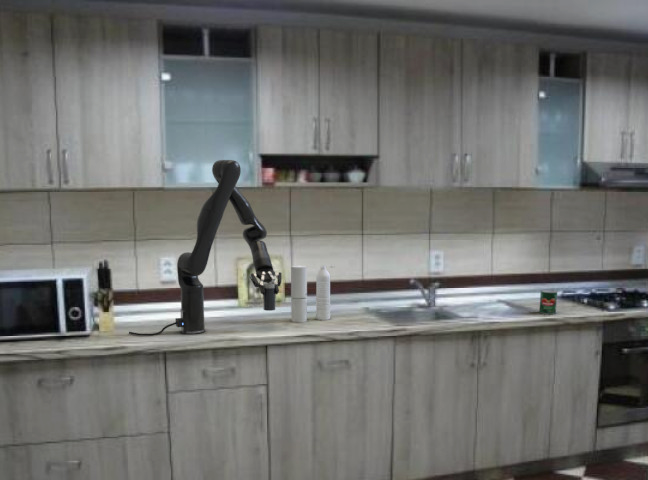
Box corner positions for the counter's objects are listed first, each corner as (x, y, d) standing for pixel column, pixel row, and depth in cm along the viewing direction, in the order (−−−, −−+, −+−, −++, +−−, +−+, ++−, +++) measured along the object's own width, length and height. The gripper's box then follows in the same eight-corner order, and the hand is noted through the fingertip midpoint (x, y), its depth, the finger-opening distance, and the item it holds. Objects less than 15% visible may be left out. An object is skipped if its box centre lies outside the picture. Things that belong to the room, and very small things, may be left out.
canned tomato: (543, 314, 302) (545, 292, 300) (536, 311, 310) (537, 289, 308) (558, 314, 303) (560, 292, 301) (551, 311, 311) (552, 289, 309)
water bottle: (319, 320, 284) (319, 266, 280) (314, 318, 290) (314, 265, 286) (336, 319, 288) (337, 265, 283) (331, 316, 294) (331, 264, 289)
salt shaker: (265, 310, 260) (265, 285, 258) (262, 308, 265) (261, 283, 263) (276, 310, 262) (276, 284, 260) (273, 308, 267) (273, 282, 265)
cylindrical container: (309, 319, 286) (309, 266, 282) (303, 322, 279) (303, 267, 275) (295, 318, 288) (294, 265, 284) (288, 321, 282) (288, 267, 277)
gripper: (247, 257, 264) (255, 289, 255) (279, 256, 269) (288, 287, 261) (244, 268, 269) (252, 299, 261) (276, 267, 275) (284, 298, 266)
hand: (270, 293), depth 261 cm, fingers closed on salt shaker, 5 cm apart
